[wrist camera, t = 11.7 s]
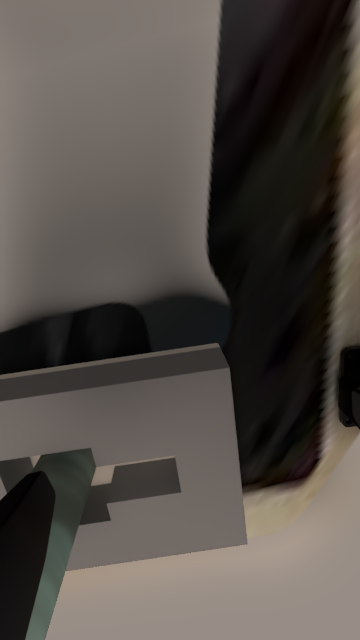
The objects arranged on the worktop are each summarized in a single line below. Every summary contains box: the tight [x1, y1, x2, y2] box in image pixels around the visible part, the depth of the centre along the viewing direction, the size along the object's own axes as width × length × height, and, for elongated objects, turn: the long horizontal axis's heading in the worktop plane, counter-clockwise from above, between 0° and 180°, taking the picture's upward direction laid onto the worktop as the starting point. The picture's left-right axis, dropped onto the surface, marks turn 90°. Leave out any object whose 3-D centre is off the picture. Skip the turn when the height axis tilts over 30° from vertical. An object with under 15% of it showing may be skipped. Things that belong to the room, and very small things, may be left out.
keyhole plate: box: [0, 343, 247, 571], centre depth 21 cm, size 18×14×4 cm
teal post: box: [25, 448, 96, 640], centre depth 16 cm, size 4×4×13 cm
